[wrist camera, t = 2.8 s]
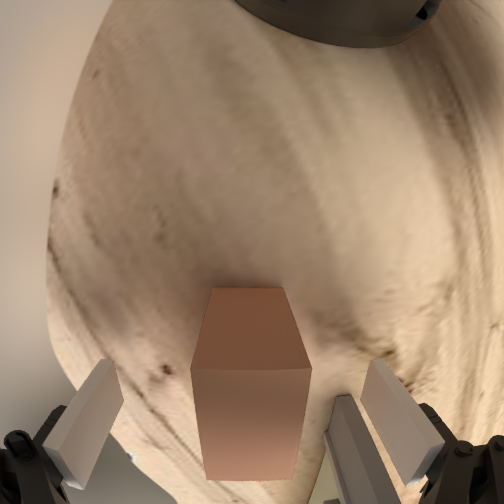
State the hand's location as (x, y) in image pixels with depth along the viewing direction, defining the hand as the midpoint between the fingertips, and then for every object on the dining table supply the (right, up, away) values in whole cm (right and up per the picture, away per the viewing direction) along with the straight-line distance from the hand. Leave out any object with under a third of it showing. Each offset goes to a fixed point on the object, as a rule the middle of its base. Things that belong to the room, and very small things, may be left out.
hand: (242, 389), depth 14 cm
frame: (+7, -16, +8) cm, 19 cm away
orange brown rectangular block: (0, +1, +4) cm, 4 cm away
